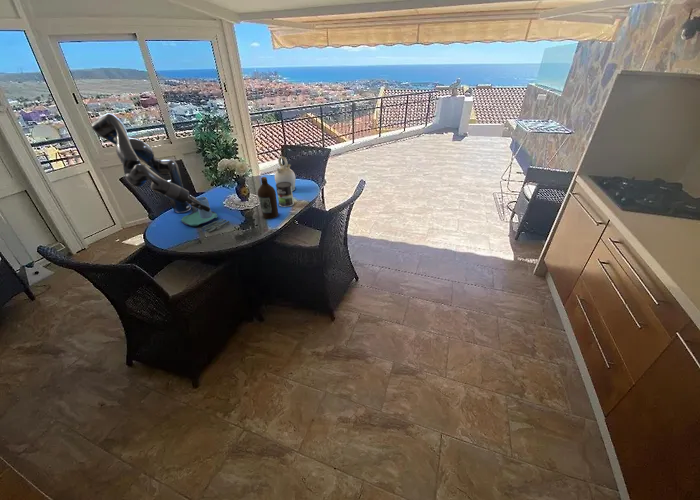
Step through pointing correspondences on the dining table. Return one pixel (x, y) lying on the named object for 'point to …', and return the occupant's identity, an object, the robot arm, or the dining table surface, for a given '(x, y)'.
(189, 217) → the cutlery set
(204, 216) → the cup
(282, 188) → the coffee can
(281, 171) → the jug
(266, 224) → the dining table surface
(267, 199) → the brown bottle
